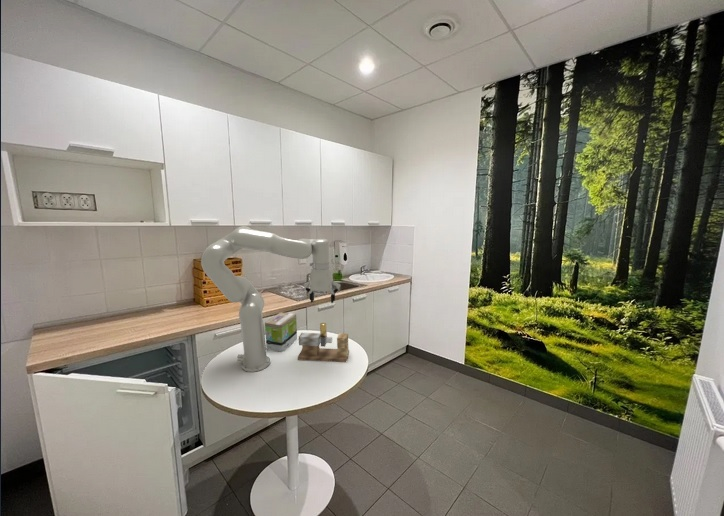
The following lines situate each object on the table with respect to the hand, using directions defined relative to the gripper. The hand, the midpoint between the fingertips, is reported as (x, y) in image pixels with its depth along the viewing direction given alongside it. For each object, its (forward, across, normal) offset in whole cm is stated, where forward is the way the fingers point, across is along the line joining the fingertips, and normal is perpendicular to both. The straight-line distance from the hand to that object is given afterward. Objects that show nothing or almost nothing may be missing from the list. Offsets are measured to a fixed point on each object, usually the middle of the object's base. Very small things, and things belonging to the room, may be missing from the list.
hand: (322, 301), depth 139 cm
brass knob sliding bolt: (+22, -3, 0) cm, 22 cm away
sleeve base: (+28, 0, 0) cm, 28 cm away
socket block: (+27, +9, 0) cm, 28 cm away
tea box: (+28, -25, +10) cm, 39 cm away
